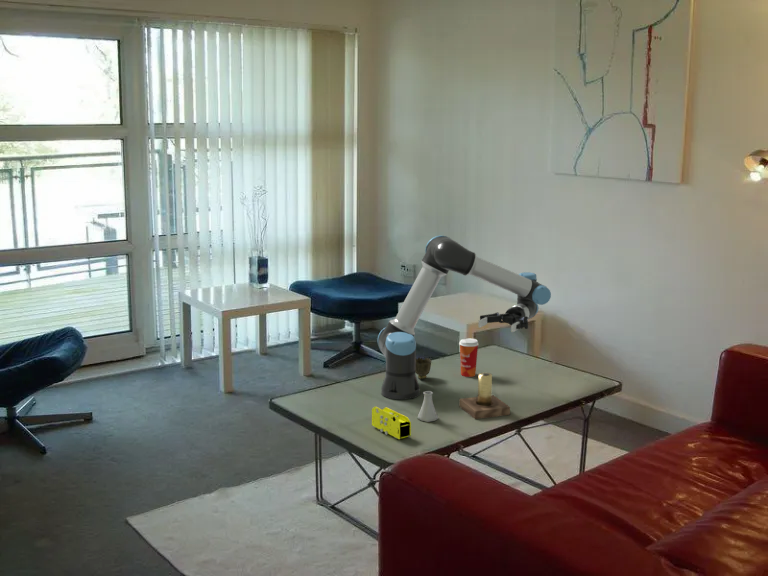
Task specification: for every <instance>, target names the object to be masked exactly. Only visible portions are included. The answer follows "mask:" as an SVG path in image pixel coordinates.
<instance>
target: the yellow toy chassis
mask: <svg viewBox="0 0 768 576" xmlns="http://www.w3.org/2000/svg"><path fill="white" fill-rule="evenodd" d="M371 426H373V427H374V428H376V429H377V430H378V431H380V433H383V432H384V434H385V435H390V436H391V437H393V438H394V439H398V440H403V439H406V438H409V437H411V436H412V422H411V420H410V418H409V417H408V416H406V415H404V414H402V413H399V412H397V411H396V410H393V409H391V408H389V407H386V406H385V407H384V408H383V409H381V408H380V407H378V406H373V407H372V408H371Z"/></svg>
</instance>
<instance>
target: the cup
mask: <svg viewBox="0 0 768 576" xmlns="http://www.w3.org/2000/svg"><path fill="white" fill-rule="evenodd" d="M431 366H432V359H430V358H429V357H428V358H427V357H425V359H423V357H421V358H420V357H418V358H417V357H416V369H415V374H416V376H417V378H418V379H419V380H425V379H427V377H428V375H429V373H430V371H431Z"/></svg>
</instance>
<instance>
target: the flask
mask: <svg viewBox="0 0 768 576" xmlns="http://www.w3.org/2000/svg"><path fill="white" fill-rule="evenodd" d="M422 393H423V396H424V397H423V401H422V404H421V408H420V410H419V412H418V415H417V419H418V420H420V421H421V422H425V423H426V422H428V423H429V422H430V423H431V422H435V421H437V420H438V419H439V417H438V413H437V410H436V408H435V405H434V401H433V394H434V392H433V391H431V390H426V391H423V392H422Z"/></svg>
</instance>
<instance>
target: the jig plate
mask: <svg viewBox="0 0 768 576" xmlns="http://www.w3.org/2000/svg"><path fill="white" fill-rule="evenodd" d="M458 405H459V408H461V409H462V410H463V411H464V412H466V413H467V414H468V415H469V416H470V417H471V418H473V419H474V420H479V419H487V418H495V417H502V416H503V417H505V416H509V415H511V406H510V405H508V404H506V403H505V402H504V401H502V400H501V399H500V398H498V397H497V396H495V395H494V394H491V406H480V405H478V396H474V397H465V398H464V397H463V398H459V404H458Z"/></svg>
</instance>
